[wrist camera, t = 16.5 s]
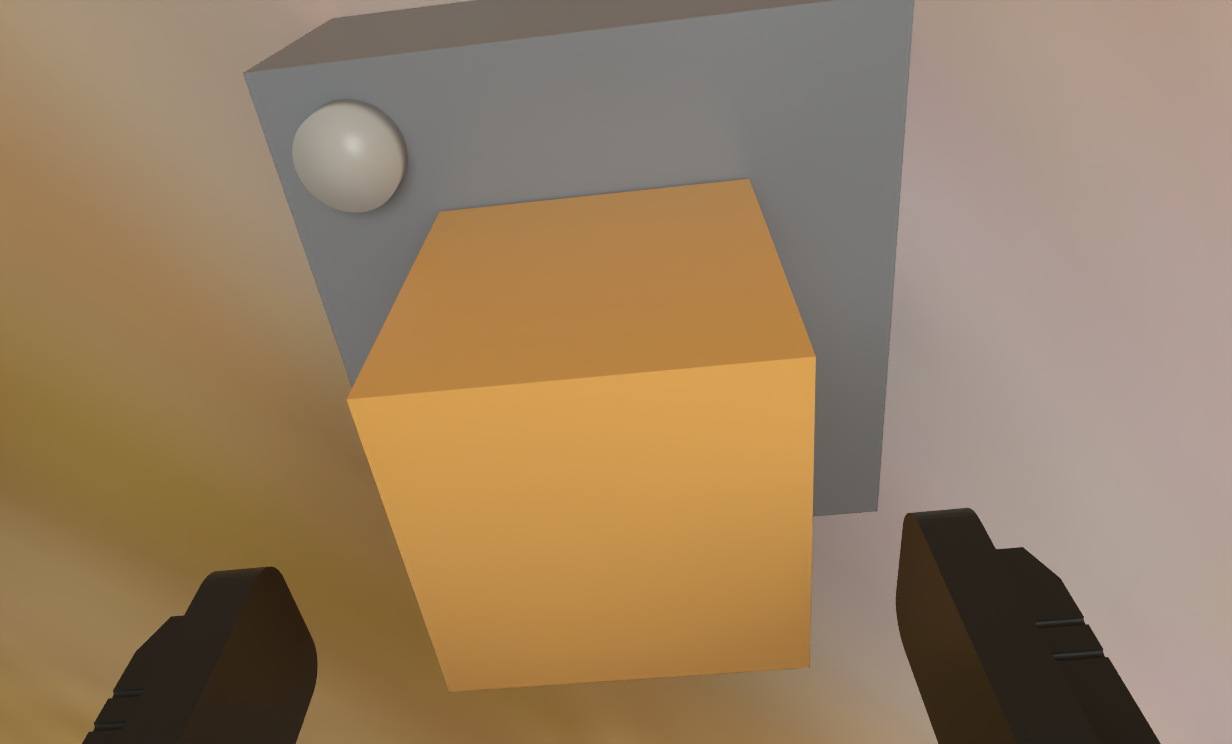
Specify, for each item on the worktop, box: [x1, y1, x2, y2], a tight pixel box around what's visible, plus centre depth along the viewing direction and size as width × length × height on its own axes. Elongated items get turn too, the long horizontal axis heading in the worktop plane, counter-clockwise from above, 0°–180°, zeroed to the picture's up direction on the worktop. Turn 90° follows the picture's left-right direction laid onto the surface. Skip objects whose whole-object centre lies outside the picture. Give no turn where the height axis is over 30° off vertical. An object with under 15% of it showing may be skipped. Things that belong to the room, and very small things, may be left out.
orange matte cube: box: [347, 179, 816, 692], centre depth 14 cm, size 6×6×6 cm
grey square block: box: [243, 0, 914, 516], centre depth 18 cm, size 11×11×6 cm
